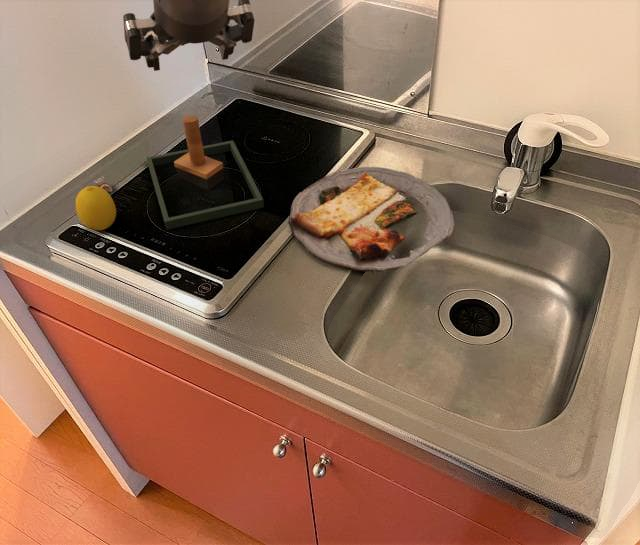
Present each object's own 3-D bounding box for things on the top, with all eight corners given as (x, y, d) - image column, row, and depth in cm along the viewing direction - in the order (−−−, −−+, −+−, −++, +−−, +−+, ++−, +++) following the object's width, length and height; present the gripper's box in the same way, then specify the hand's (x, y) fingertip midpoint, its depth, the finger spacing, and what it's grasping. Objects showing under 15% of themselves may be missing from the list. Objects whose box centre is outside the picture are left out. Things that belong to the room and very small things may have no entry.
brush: (177, 179, 98) (163, 118, 90) (194, 167, 101) (182, 107, 93) (209, 192, 95) (198, 130, 87) (225, 180, 98) (216, 118, 90)
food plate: (364, 303, 77) (365, 284, 74) (259, 224, 90) (257, 205, 87) (478, 224, 89) (483, 206, 86) (371, 164, 101) (372, 147, 99)
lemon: (129, 225, 90) (115, 183, 84) (102, 245, 86) (86, 202, 81) (104, 214, 92) (90, 172, 86) (77, 233, 89) (60, 190, 83)
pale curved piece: (108, 190, 97) (101, 170, 94) (116, 195, 96) (109, 174, 93) (93, 198, 95) (86, 178, 92) (101, 203, 94) (94, 183, 91)
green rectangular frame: (264, 211, 92) (263, 199, 90) (167, 234, 88) (164, 221, 86) (234, 151, 105) (233, 140, 104) (149, 169, 102) (146, 157, 100)
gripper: (252, -59, 57) (237, 20, 73) (106, -43, 54) (123, 37, 69) (271, 13, 57) (252, 77, 73) (127, 34, 54) (139, 96, 69)
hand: (189, 57), depth 71 cm, fingers open, 8 cm apart
